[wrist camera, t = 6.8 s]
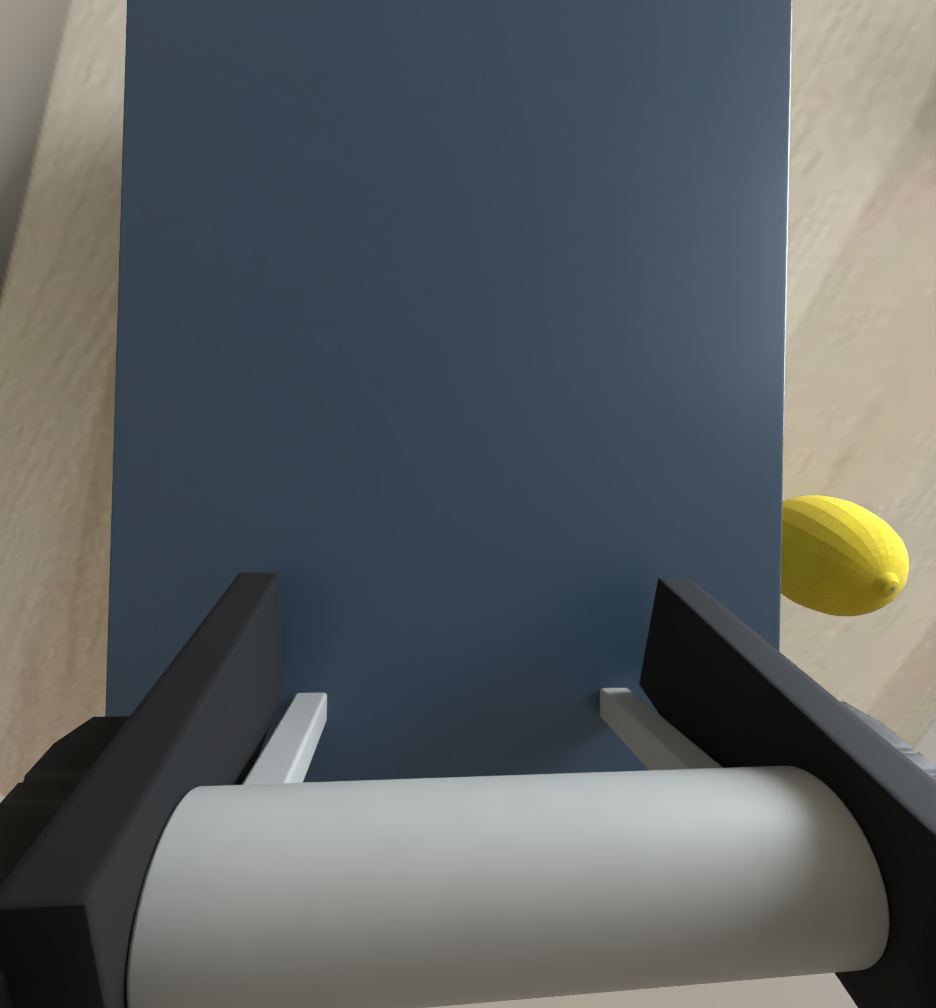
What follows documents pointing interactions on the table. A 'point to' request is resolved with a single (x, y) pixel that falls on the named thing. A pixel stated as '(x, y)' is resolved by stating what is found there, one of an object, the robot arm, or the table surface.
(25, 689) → the table surface
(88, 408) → the table surface
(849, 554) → the lemon
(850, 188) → the table surface
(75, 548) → the table surface
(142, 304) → the lid
